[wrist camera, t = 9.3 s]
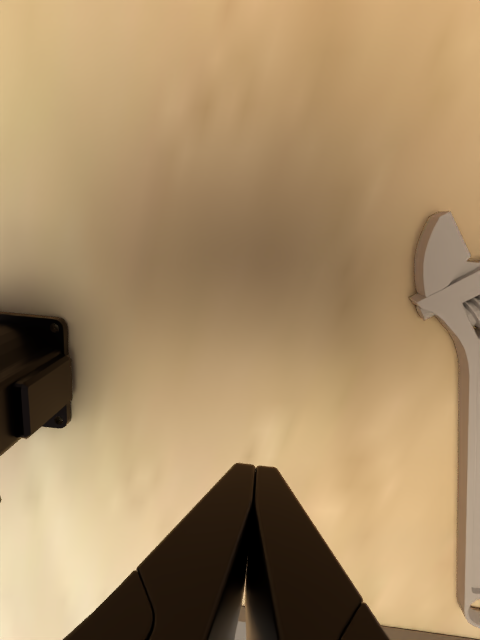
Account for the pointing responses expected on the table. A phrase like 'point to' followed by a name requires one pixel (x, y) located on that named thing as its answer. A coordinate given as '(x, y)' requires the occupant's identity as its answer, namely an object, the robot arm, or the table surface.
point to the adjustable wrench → (474, 377)
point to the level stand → (398, 637)
